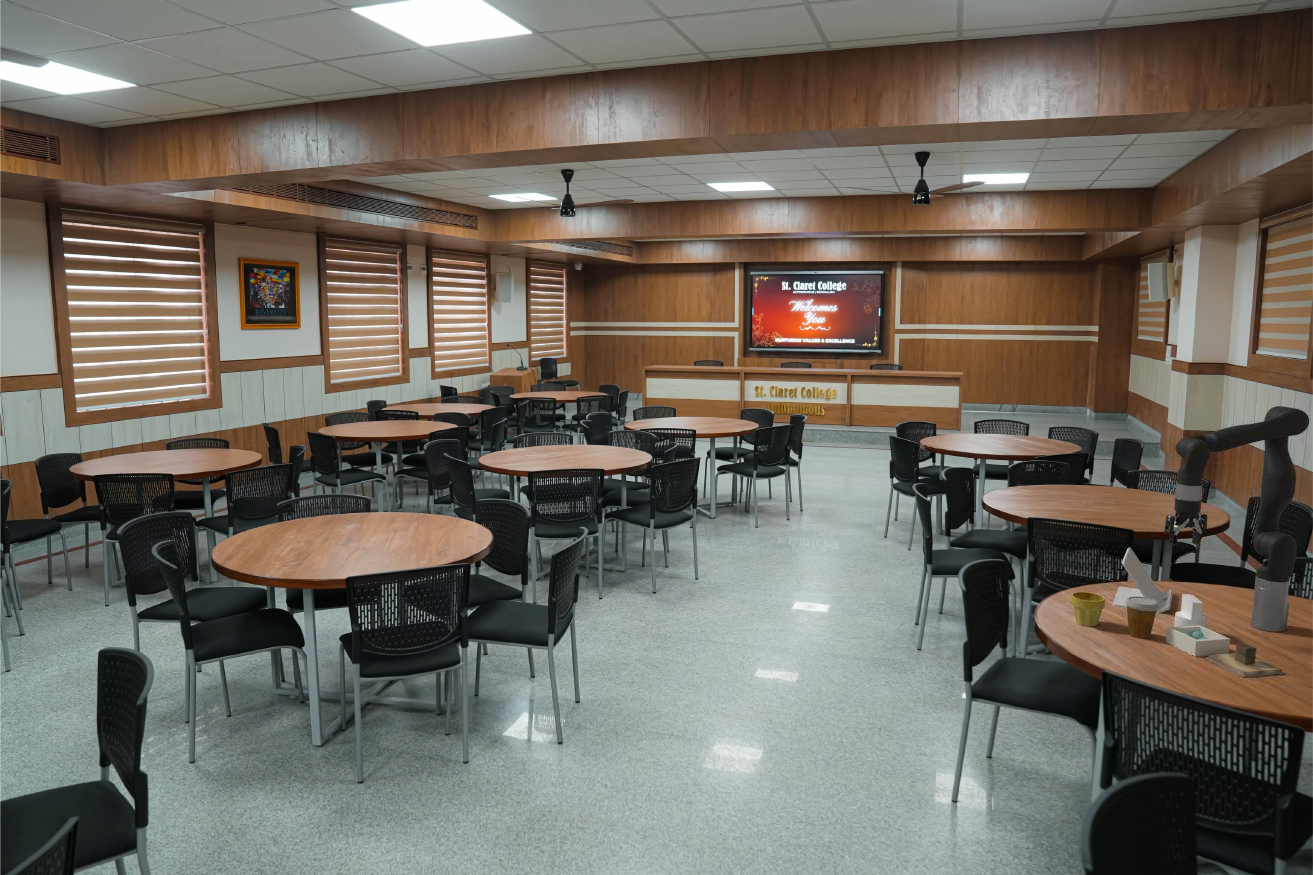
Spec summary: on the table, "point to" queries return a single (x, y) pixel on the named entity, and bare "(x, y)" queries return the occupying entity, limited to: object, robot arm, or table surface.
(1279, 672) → the mat
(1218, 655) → the lid
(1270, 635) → the table surface
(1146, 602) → the disposable coffee cup
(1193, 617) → the white knob
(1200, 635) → the ball
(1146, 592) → the tablet stand
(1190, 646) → the box
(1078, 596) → the plant pot
